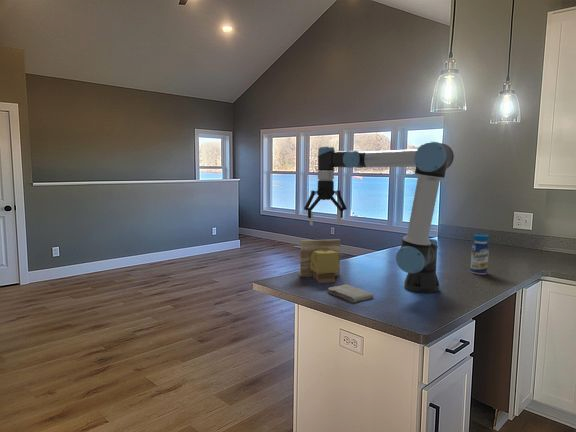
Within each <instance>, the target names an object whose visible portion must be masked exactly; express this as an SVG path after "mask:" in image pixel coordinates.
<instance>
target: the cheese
mask: <svg viewBox="0 0 576 432" xmlns="http://www.w3.org/2000/svg"><path fill="white" fill-rule="evenodd" d="M310 269H311V270H313V271H315V272H316V273H317V274H324V273H336V272H337V270H338V253H337V252H335V251H332V250H330V249H318V250H316V251H313V253H312V254H311V263H310Z"/></svg>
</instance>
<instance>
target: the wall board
mask: <svg viewBox="0 0 576 432" xmlns="http://www.w3.org/2000/svg"><path fill="white" fill-rule="evenodd" d="M299 247H300V249H299V250H300V253H299V255H300V256H299V257H300V260H299V261H300V262H299V271H298V275H299V276H300V278H302V277H303V278H304V277H306V278H307V277H312V278H313V279H314V280H315V281H316V282H317V283H319V284H324V283H325V284H326V283H336V276H341V275H340V273H341V272H340V271H341V270H340V268H341V266H340V265H341V239H306V240H305V239H303V240H300V246H299ZM318 249H330V250H332V251H335V252H337V253H338V270H337V272H336V273H324V274H317V273H316V272H315V271H313V270H311V269H310V263H311V254H312V253H313V251H316V250H318Z"/></svg>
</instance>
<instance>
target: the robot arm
mask: <svg viewBox="0 0 576 432" xmlns="http://www.w3.org/2000/svg"><path fill="white" fill-rule="evenodd" d="M454 158H455V154H454V152H453V150H452V148H451V147H450V146H449V145H447V144H446V143H443V142H438V141H428V142H424V143H423V144H421V145H420V146H418V147H417V149H399V150H398V149H397V150H395V149H393V150H371V151H370V150H368V151H366V150H365V151H357V150H352V149H351V150H350V149H349V150H335V147H334V146H320V147H319V148H318V151H317V180H318V181H317V190H311V191H310V195H309V197H308V199H307V201H306V203H305V206H304V208H303V210H305V211H307V218H308V219H309V226H313V224H314V222H313V221H314V212H313V209H315V207H316V206H317V205H318V203H319V202H320V201H321V200H322V201H326V200H327V201H329V200H330V201H331V202H332V203H333V204H334V206H335V207H336V208H337V209H338V210H337V213H336V214H337V215H336V216H337V218H336V219H337V220H336V221H337V223H336V224H337V225H338V226H341V221H342V220H341V218H343V213H344V211H345V210H347V206H346V204H345V202H344V199H343V197H342V195H341V190H338V189H337V190H334V189H335V181H334V180H335V168H355V169H356V168H360V169H362V168H415V169H414V175H415V176H416V178H417V180H416V186H415V190H414V196H413V199H412V200H413V201H412V202H413V203H412V207H411V212H410V217H409V222H408V228H407V234H406V235H404V236H403V237H402V239H401V245H400V248H399V249H398V250H397V252H396V255H395V262H396V266H398V267H399V269H400V270H402V271H403V272H405V273H407V274H406V277H405V279H404V283H403V284H404V286H403V287H404V289H406V290H408V291H409V292H410V291H411V292H415V293H422V294H423V293H424V294H433V293H438V292H439V291H440V282H439V278H438V275H437V261H438V260H437V259H438V247H439V246H438V240H437V239H435V238H429V237H430V231H431V227H432V221H433V216H434V212H435V206H436V202H437V195H438V191H439V187H440V182H441V181H442V180H444V179H445V176H446V171H447V169H448V168H450V167H451V166H452V164H453V163H454ZM316 195H317V197H316V199H315V200H314V201H313V199H314V197H315V196H316ZM334 195H336V197H337V199H338V201H339V202H338V201H337V200H336V198H335V197H334ZM311 203H312V204H311Z"/></svg>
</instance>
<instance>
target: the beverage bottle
mask: <svg viewBox="0 0 576 432" xmlns="http://www.w3.org/2000/svg"><path fill="white" fill-rule="evenodd" d="M488 241H489V235H488V234H483V233H475V234H474V235H473V242H474V243H472V245H471V251H470V254H471V255H470V256H471V257H470V269H469V270H470V273H471V274H475V275H487V274H488V266H489V255H490V252H489V250H490V247H489V245H488Z"/></svg>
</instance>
